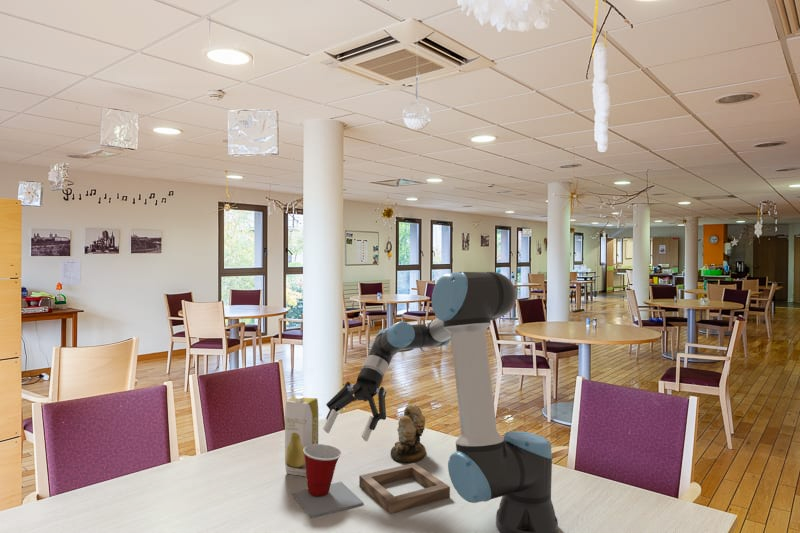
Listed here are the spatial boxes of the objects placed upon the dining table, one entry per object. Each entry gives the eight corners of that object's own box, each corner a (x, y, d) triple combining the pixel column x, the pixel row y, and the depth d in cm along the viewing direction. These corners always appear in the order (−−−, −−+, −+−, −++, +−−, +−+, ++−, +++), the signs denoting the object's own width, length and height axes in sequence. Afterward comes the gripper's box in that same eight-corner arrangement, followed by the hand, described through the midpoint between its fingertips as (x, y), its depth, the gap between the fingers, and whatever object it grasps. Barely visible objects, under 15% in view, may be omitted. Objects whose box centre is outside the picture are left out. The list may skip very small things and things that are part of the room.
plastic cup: (330, 503, 142) (334, 459, 142) (293, 496, 145) (296, 453, 145) (343, 487, 153) (346, 446, 153) (308, 481, 155) (311, 441, 155)
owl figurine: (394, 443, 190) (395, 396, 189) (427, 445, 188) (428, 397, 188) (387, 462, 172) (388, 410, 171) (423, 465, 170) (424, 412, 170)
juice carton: (281, 474, 162) (282, 397, 161) (295, 464, 169) (295, 390, 169) (308, 479, 159) (309, 400, 158) (321, 468, 166) (321, 393, 166)
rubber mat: (363, 504, 143) (363, 502, 143) (311, 517, 136) (311, 516, 136) (341, 483, 156) (341, 481, 156) (292, 494, 149) (292, 492, 149)
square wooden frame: (449, 497, 148) (449, 486, 148) (390, 513, 138) (390, 502, 138) (414, 472, 164) (414, 462, 164) (359, 485, 155) (359, 475, 155)
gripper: (411, 384, 162) (386, 448, 149) (344, 375, 174) (316, 433, 161) (403, 371, 157) (376, 436, 144) (335, 362, 169) (305, 421, 157)
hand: (344, 435), depth 153 cm, fingers open, 13 cm apart
